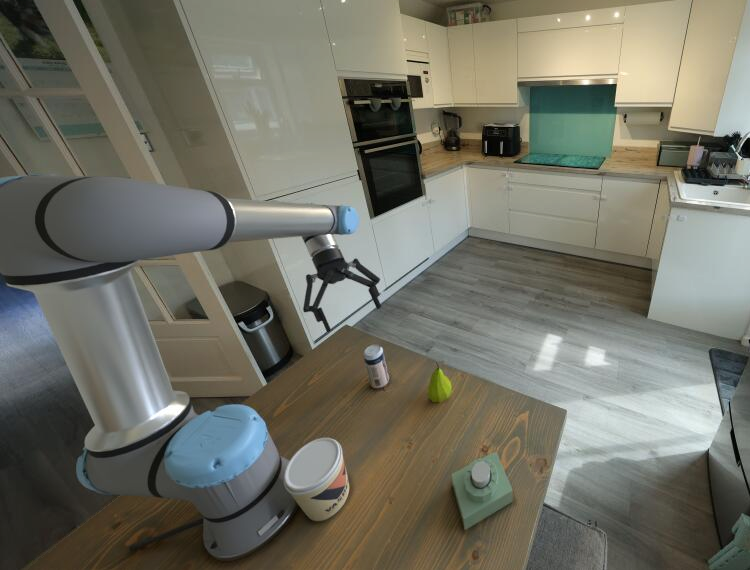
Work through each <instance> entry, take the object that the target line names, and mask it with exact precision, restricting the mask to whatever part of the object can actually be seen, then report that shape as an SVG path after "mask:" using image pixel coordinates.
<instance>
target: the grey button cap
mask: <svg viewBox="0 0 750 570" xmlns="http://www.w3.org/2000/svg"><path fill="white" fill-rule="evenodd" d="M471 476H472V483H473V485H474V486H475V487H477V488H484V487H485V486H487V484H488V483H489V481H490V468H489V466H488V464H487V463H485V462H478V463H476V464H475V465H474V466H473V468H472V471H471Z"/></svg>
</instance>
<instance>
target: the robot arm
mask: <svg viewBox="0 0 750 570" xmlns="http://www.w3.org/2000/svg"><path fill="white" fill-rule="evenodd" d="M359 221H360V217H359V213H358V211H357V210H356V208H355V207H353V206H350V205H343V204H342V205H332V204H317V203H314V202H311V203H309V202H306V203H303V202H290V201H289V202H287V201H280V200H259V199H258V200H257V199H245V198H244V199H243V198H228V197H225V196H224V195H223V194H221V193H219V192H217V191H213V190H204V189H195V188H190V187H189V188H188V187H182V186H177V185H176V186H175V185H168V184H164V183H157V182H153V181H146V180H141V179H134V178H128V177H119V176H118V177H117V176H86V175H64V174H63V175H61V174H52V173H50V174H36V173H32V174H25V175H13V176H4V177H0V274H1V276H2V278H3V281H4V283H5V284H6V286H7V287H11V288H14V289H18V290H19V289H20V290H23V291H28V292H31V293H33V295H34V297H35V299H36V301H37V303H38V305H39V307H40V310H41V312H42V314H43V316H44V319H45V321H46V322H47V324H48V327H49V329H50V331H51V333H52V336H53V337H54V340H55V342H56V344H57V346H58V348H59V351H60V353H61V355H62V357H63V359H64V361H65V363H66V365H67V366H66V367H67V368H68V370H69V372H70V374H71V376H72V379H73V381H74V383H75V385H76V387H77V389H78V392H79V394H80V396H81V399H82V400H83V403H84V404H85V407H86V410H88V413H89V415H90V418H91V420H92V422H93V424H94V426H93V427H92V428H91V429H90V430H89V432H88V433H87V434H86V436H85V437H84V446H83V448H82V450H83V453H82V454H81V455H80V456H79V457H78V458H77V460H76V461H77V462H76V468H75V470H76V477H77V479H78V482H79V483H80V484H81V485H82V486H83V487H84V488H87V489H88V490H91V491H94V492H96V493H99V494H103V495H109V496H110V495H111V496H113V495H114V496H119V495H121V496H131V497H132V496H133V497H144V498H156V499H171V500H179V501H180V500H181V501H187V502H189V503H191V504H193V506H194V507H195V508H196V509H197V511H198V512H199V513H200V515H201V516H202V517H201V518H198V519H196V520H194V521H191V522H188V523H185V524H183V525H181V526H177V527H176V528H173V529H170V530H168V531H166V532H163V533H161V534H158V535H155V536H153V537H149V538H147V539H144V540H141V541H137V542H134V543H132V544H130V546H129V551H133V550H137V549H140V548H143V547H146V546H148V545H151V544H154V543H156V542H159V541H161V540H164V539H167V538H169V537H172V536H174V535H176V534H179V533H181V532H183V531H187V530H189V529H191V528H194V527H197V526H200V525H202V539H203V540H202V541H203V545H204V547H205V549H206V551H207V552H208V553H209V555H210V556H211V557H212V558H214V559H216V560H217V561H221V562H234V561H237V560H241V559H243V558H246V557H249V556H252V555H253V554H254V553H257V552H258V551H260V550H261V549H263V548H264V547H265V546H266V545H268V544H269V543H270V542H272V541H273V540H274V539H275V538H276V537H277V536H278V535H280V533H281V532H282V531H283V530H284V528H285V527H286V526H287V525H288V524H289V523H290V521H291V520H292V518H293V517H294V515H295V514H296V512H297V510H298V508H299V507H300V506H299V505H298V503H297V502H296V500H295V499H294V498H293V496H292V495H291V493H289V492H288V491H287V490H286V488H285V486H284V474H285V471H286V468H287V465H288V463H289V462H290V460H291V459H288V458H285V457H283V456H282V455H280V453H279V450H278V449H277V446H276V445H275V443H274V440H273V438H272V436H271V434H270V432H269V430H268V427H267V424H266V422H265V420H264V419H263V418H262V417H261V416H260V414H258V412H257V411H256V410H255V409H254V408H252V407H251V406H248V405H245V404H238V403H237V404H236V403H234V404H233V403H231V404H226V405H225V404H224V405H221V406H217V407H216V408H215V410H213V411H211V410H206V411H205V412H203V413H201V414H197V413H196V412H195V410H194V407H193V404H192V402H191V399H190V396H189V395H188V393H187V392H186V391H183V390H174V388H173V387H172V383H171V381H170V378H169V375H168V373H167V370H166V366H165V363H164V361H163V358H162V355H161V353H160V350H159V347H158V344H157V341H156V339H155V335H154V333H153V331H152V328H151V325H150V322H149V319H148V317H147V314H146V311H145V308H144V305H143V302H142V300H141V297H140V294H139V292H138V289H137V286H136V283H135V281H134V278H133V277H134V276H132V270H133V269H134V268H135V267H136V266H137V265H138V264H139V263H140V262H141V261H143V260H151V259H158V258H164V257H170V256H176V255H182V254H183V255H184V254H192V253H198V252H205V251H206V252H207V251H215V250H218V249H221V248H223V247H225V246H226V245H227V244H229V243H238V242H249V241H250V242H251V241H261V240H276V239H286V238H287V239H288V238H298V237H299V238H300V237H301V239H302V240H303V243H304V245H305V247H306V250H307V252H308V254H309V256H310V258H311V261H312V263H313V266H314V268H315V270H316V273H314V274H310V273H309V274H305V281H306V290H305V296H304V302H303V307H302V310H303V313H309V312H310V313H313V316H314V319H315V320H316V322H317V323H320V322H322V324H323V326H324V328H325V330H326V333H329V332H331V326H330V324H329V322H328V319H327V317H326V315H325V313H324V311H323V308H322V306H320V304H321V302H322V299H323V297H324V295H325V292H326V290H327V288H328V286H329V285H335V284H336V283H338V282H342V281H344V280H346V279H347V280H351V281H353V282H355V283H358V284H361V285H362V286H365V287H366V288H367V287H368V289H367V291H368V293H369V295H370V297H371V299H372V302H373V304H374V305H375V308H376V310H380V309H381V308H382V304H381V302H380V300H379V298H378V297H379V296H380V291H379V290H378V287H377V285H378V284H379V283H380V281H381V278H380V277H379V276H377V275H376V274H375V273H373V272H372V271H371V270H369V269H368V268H366V267H365V266H364V265H363V264H361V262H360V261H359V259H358V258H353V260H352V261H349V262H347V261H346V259H345V257H344V254H343V253H342V251H341V248H339V244H338V242H337V240H336V238H335V236H334V235H339V236H343V235H353V234H354V233H356V231H357V229H358V228H359V225H360V224H359ZM350 267H351V268H353V269H356V271H358V272H359V273H361V274H362V275H363V276H365V277H363V276H361V275H358V274H356V273H354V272H353V271H351V270H349V269H350ZM316 279H319V280H320V281H322V283H321V285H320V288H319V291H318V293H317V295H316V297H315V299H314V302H313V304H312V305H311V298H312V292H313V284H314V283H315V282H316ZM319 306H320V307H319Z"/></svg>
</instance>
